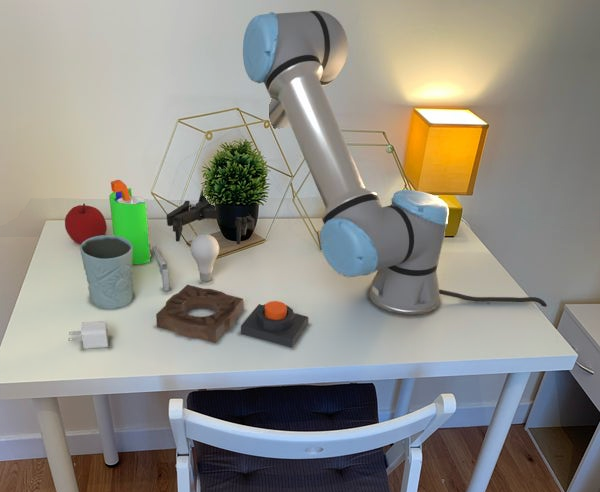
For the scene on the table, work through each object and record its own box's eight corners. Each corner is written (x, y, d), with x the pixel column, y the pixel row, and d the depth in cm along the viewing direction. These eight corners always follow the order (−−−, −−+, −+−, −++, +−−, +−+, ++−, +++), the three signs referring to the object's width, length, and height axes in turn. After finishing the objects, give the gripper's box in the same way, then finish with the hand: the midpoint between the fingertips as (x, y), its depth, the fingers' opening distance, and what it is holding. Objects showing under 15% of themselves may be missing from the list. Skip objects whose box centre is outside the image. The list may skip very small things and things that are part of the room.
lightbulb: (224, 278, 147) (224, 233, 140) (210, 290, 143) (209, 244, 136) (201, 271, 149) (199, 226, 142) (186, 283, 145) (184, 237, 138)
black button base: (307, 324, 135) (309, 308, 133) (292, 347, 129) (293, 330, 126) (258, 312, 138) (259, 295, 135) (240, 334, 131) (240, 317, 129)
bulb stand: (246, 310, 138) (247, 298, 136) (217, 345, 128) (216, 332, 126) (186, 294, 141) (186, 282, 139) (153, 327, 131) (152, 315, 129)
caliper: (169, 292, 140) (166, 264, 137) (165, 292, 140) (162, 264, 137) (158, 264, 157) (155, 239, 155) (153, 264, 157) (151, 239, 154)
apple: (111, 234, 160) (106, 194, 154) (105, 251, 154) (99, 211, 147) (72, 232, 160) (66, 193, 153) (64, 250, 153) (56, 209, 146)
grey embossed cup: (92, 285, 142) (84, 233, 134) (140, 286, 143) (135, 235, 135) (84, 311, 134) (75, 257, 126) (135, 311, 135) (128, 258, 127)
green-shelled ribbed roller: (160, 257, 153) (154, 182, 141) (131, 268, 148) (122, 191, 137) (136, 243, 157) (128, 169, 146) (107, 254, 153) (97, 177, 141)
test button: (289, 311, 132) (290, 304, 131) (281, 322, 129) (282, 314, 128) (269, 306, 133) (269, 298, 132) (260, 317, 130) (261, 309, 129)
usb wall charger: (108, 348, 125) (105, 331, 122) (69, 351, 123) (66, 333, 121) (108, 336, 128) (105, 319, 125) (71, 339, 126) (67, 321, 124)
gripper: (264, 215, 167) (262, 255, 151) (165, 210, 166) (153, 249, 149) (265, 186, 162) (263, 224, 146) (163, 181, 161) (150, 218, 145)
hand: (207, 237), depth 148 cm, fingers open, 13 cm apart
